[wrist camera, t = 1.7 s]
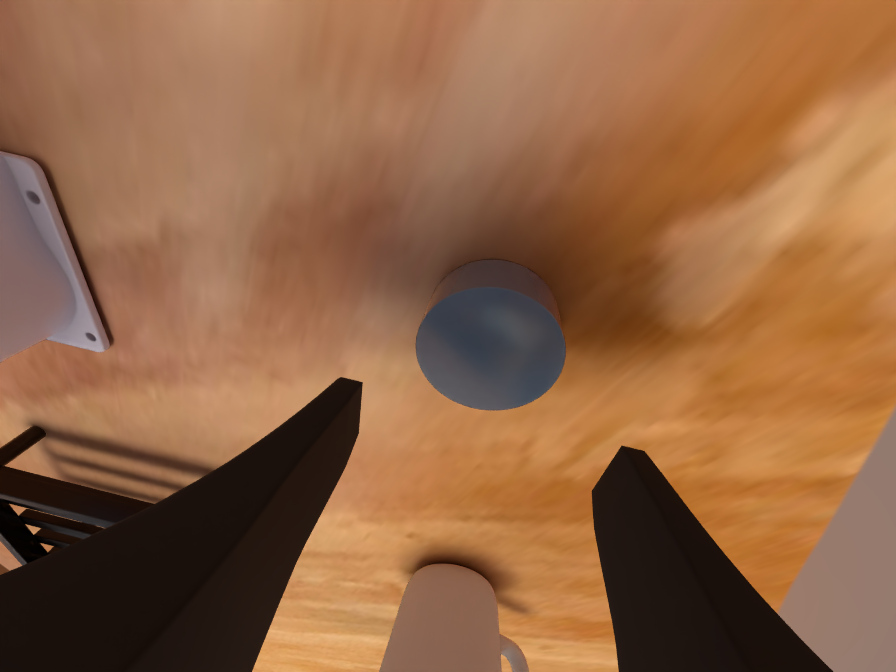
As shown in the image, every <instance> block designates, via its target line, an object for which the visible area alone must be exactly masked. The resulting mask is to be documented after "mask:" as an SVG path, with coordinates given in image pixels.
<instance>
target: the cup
mask: <svg viewBox="0 0 896 672" xmlns="http://www.w3.org/2000/svg"><path fill="white" fill-rule="evenodd" d="M501 654H502V655H504V656H505V657H506V658H507V659H508V661H509V662H510V665H511V667H512V671H513V672H529V668H528V665H527V661H526V659H525V656H524V654H523V652H522V650H521V649H520V648H519V646H518V645H517V644H516V643H514V642H513V641H512V640H510V639H508V638H507V637H505V636H503V635H501V634H499V621H498V608H497V601H496V596H495V593H494V591H493V588H492V586H491V585H490V583H489V582H488V581H487V580H486V579H485V578H484V577H483V576H481V575H480V574H478V573H477V572H475V571H473V570H471V569H468V568H466V567H462V566H459V565H454V564H432V565H428V566H425V567H423V568H421V569H419V570H418V571H417V572H415V573H414V574H413V576H412V577H411V579H410V580H409V582H408V584H407V586H406V589H405V592H404V595H403V597H402V601H401V604H400V607H399V610H398V613H397V617H396V620H395V623H394V626H393V629H392V632H391V636H390V639H389V642H388V645H387V648H386V652H385V655H384V658H383V661H382V664H381V668H380V671H379V672H502V671H501Z"/></svg>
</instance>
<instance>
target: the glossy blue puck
mask: <svg viewBox="0 0 896 672" xmlns="http://www.w3.org/2000/svg"><path fill="white" fill-rule="evenodd" d="M416 354H417V359H418V362H419V365H420V368H421V370H422V372H423V373H424V375H425V377H426V378H427V380H428V381H429V382H430V383H431V384H432V385H433V387H434V388H435V389H437V390H438V391H439V392H440V393H441V394H443V395H444V396H446V397H447V398H449V399H451V400H453V401H455V402H457V403H459V404H462V405H464V406H467V407H471V408H475V409H480V410H507V409H512V408H517V407H520V406H523V405H525V404H528V403H530V402H532V401H534V400H536V399H537V398H539V397H540V396H542V395H543V394H544V393H546V392H547V391H548V390H549V389H550V388H551V387H552V386H553V384H554V383H555V382H556V380H557V379H558V377H559V375H560V373H561V371H562V369H563V366H564V362H565V357H566V345H565V338H564V334H563V329H562V325H561V320H560V316H559V311H558V306H557V303H556V300H555V297H554V295H553V293H552V291H551V290H550V288H549V287H548V285H547V284H546V283H545V282H544V281H543V280H542V279H541V278H540V277H539V276H538V275H537V274H535V273H534V272H533V271H531V270H529V269H528V268H526V267H524V266H521V265H519V264H516V263H513V262H510V261H504V260H492V259H490V260H480V261H475V262H471V263H468V264H466V265H463V266H461V267H459V268H457V269H455V270H454V271H452V272H451V273H450V274H448V275H447V276H446V277H445V278H444V279H443V280H442V281H441V282H440V284H439V285H438V286H437V288H436V289H435V291H434V293H433V295H432V297H431V300H430V302H429V305H428V307H427V310H426V312H425V314H424V317H423V319H422V322H421V324H420V327H419V329H418V333H417V337H416Z"/></svg>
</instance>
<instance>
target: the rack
mask: <svg viewBox="0 0 896 672" xmlns="http://www.w3.org/2000/svg"><path fill="white" fill-rule="evenodd" d="M45 436H46V433H45V431H44V430H42V429H41V428H39V427H36V426H32V427H30V428H29V429H27V430H26V431H24V432H23V433H22V434H20V435H19V436H17V437H16V438H14V439H13V440H11V441H10V442H8V443H7V444H5V445H4V446H2V447H1V448H0V541H1V542H2V543H3V544H4V545H5V547H6V548H7V549H8V550H9V551H10V552H11V553H12V554H13V555H14V557H15V558H16V559H17V560H18V561H19V562H20V563H21V564H22V565H25V564H28V563H30V562H32V561H35V560H37V559H39V558H42V557H44V556H47V555H49V554H51V553H54V552H56V551H58V550H61V549H63V548H65V547H67V546H69V545H72V544H74V543H76V542H78V541H80V540H82V539H85V538H87V537H89V536H91V535H93V534H95V533H97V532H99V531H101V530H103V529H105V528H107V527H109V526H112V525H114V524H116V523H118V522H120V521H122V520H124V519H126V518H128V517H130V516H132V515H134V514H136V513H138V512H140V511H142V510H144V509H146V508H148V507H150V506H152V505H154V504H152V503H148V502H144V501H140V500H137V499H133V498H129V497H125V496H121V495H117V494H113V493H109V492H105V491H101V490H97V489H93V488H89V487H85V486H81V485H77V484H73V483H69V482H65V481H61V480H57V479H53V478H49V477H45V476H41V475H37V474H33V473H29V472H25V471H22V470H18V469H14V468H10V467H6V466H5V465H6V464H8V463H9V462H11V461H12V460H13V459H15V458H16V457H17V456H19V455H20V454H22V453H23V452H24V451H26V450H27V449H29V448H30V447H31V446H33V445H34V444H36V443H37V442H38V441H40V440H41V439H42V438H44V437H45ZM9 504H13V505H17V506H21V507H25V508H29V509H26V510H25V511H23V512H22V513H21V514H20V515H19V516H18V515H17V513H16V512H15V511H14V510H13V508H12V507H11V506H10V505H9ZM30 509H33V510H30ZM34 510H37V511H34ZM38 511H41V512H38ZM42 512H45V513H42ZM46 513H49V514H46ZM50 514H52V515H50ZM54 515H56V516H54ZM58 516H60V517H58ZM62 517H64V518H62ZM66 518H68V519H66ZM70 519H72V520H70ZM74 520H76V521H74ZM77 521H80V522H77ZM25 524H27V525H31V526H35V527H39V528H41V529H40V530H39V531H38V532H37V533H36V534H34V535H33V534H32V532H31V531H30V530H29V529H28V527H27V526H26V525H25ZM97 526H100V527H97ZM101 527H104V528H101ZM40 543H43V544H47V545H51V546H54V547H53V548H52V549H51V550H50V551H49V552H47V551H46V550H45V549H44V547H43V546H42V545H41V544H40Z"/></svg>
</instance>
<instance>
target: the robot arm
mask: <svg viewBox="0 0 896 672" xmlns="http://www.w3.org/2000/svg"><path fill="white" fill-rule="evenodd" d="M45 339H46V340H50V341H55V342H59V343H63V344H67V345H71V346H75V347H79V348H83V349H87V350H91V351H96V352H104V351H105V350H107V349H108V348H109V347H110V344H109V341H108V338H107V335H106V333H105V330H104V328H103V325H102V322H101V320H100V317H99V314H98V312H97V309H96V307H95V304H94V301H93V299H92V296H91V294H90V291H89V288H88V286H87V283H86V281H85V278H84V275H83V273H82V270H81V268H80V265H79V262H78V260H77V257H76V255H75V252H74V249H73V247H72V244H71V242H70V239H69V236H68V234H67V231H66V229H65V226H64V223H63V221H62V218H61V216H60V213H59V210H58V208H57V205H56V203H55V200H54V197H53V195H52V192H51V190H50V187H49V184H48V182H47V179H46V177H45V174H44V172H43V170H42V168H41V167H40V166H39V165H38V164H37V163H36V162H35V161H33V160H32V159H30V158H27V157H23V156H19V155H15V154H11V153H6V152H2V151H0V362H2V361H4V360H6V359H8V358H10V357H12V356H14V355H16V354H18V353H20V352H21V351H23V350H25V349H27V348H29V347H31V346H33V345H35V344H37V343H39V342H41V341H43V340H45ZM362 384H363V382H359V381H355V380H351V379H347V378H343V377H340V378H339V379H337V380H336V381H335V382H333V383H332V384H331V385H330V386H329V387H328V388H327V389H325V390H324V391H323V392H322V393H321V394H319V395H318V396H317V397H316V398H315V399H313V400H312V401H311V402H310V403H309V404H307V405H306V406H305V407H304V408H302V409H301V410H300V411H299V412H297V413H296V414H295V415H293V416H292V417H291V418H290V419H288V420H287V421H286V422H284V423H283V424H282V425H280V426H279V427H278V428H276V429H275V430H274V431H272V432H271V433H270V434H268V435H267V436H265V437H264V438H262V439H261V440H260V441H258V442H257V443H255V444H254V445H252V446H251V447H250V448H248V449H247V450H245V451H244V452H242V453H241V454H239V455H238V456H236V457H235V458H233V459H232V460H230V461H229V462H227V463H225V464H224V465H222V466H221V467H219V468H217V469H216V470H214V471H212V472H211V473H209V474H207V475H206V476H204V477H202V478H201V479H199V480H197V481H196V482H194V483H192V484H190V485H188V486H187V487H185V488H183V489H181V490H179V491H178V492H176V493H174V494H172V495H170V496H169V497H167V498H165V499H163V500H161V501H160V502H158V503H156V504H154V505H152V506H150V507H148V508H146V509H144V510H142V511H140V512H138V513H136V514H134V515H132V516H130V517H128V518H126V519H124V520H122V521H120V522H118V523H116V524H114V525H112V526H109V527H107V528H105V529H103V530H101V531H99V532H97V533H95V534H93V535H91V536H89V537H87V538H85V539H82V540H80V541H78V542H76V543H74V544H72V545H69V546H67V547H65V548H63V549H61V550H58V551H56V552H54V553H51V554H49V555H47V556H44V557H42V558H39V559H37V560H35V561H32V562H30V563H28V564H25V565H23V566H21V567H18V568H16V569H14V570H11V571H9V572H7V573H4V574H2V575H0V672H252V670H253V667H254V665H255V662H256V660H257V657H258V655H259V652H260V650H261V647H262V645H263V642H264V640H265V637H266V635H267V632H268V630H269V627H270V625H271V623H272V620H273V618H274V615H275V613H276V610H277V608H278V605H279V603H280V600H281V598H282V596H283V593H284V591H285V589H286V586H287V584H288V581H289V579H290V577H291V574H292V572H293V570H294V567H295V565H296V562H297V560H298V558H299V556H300V554H301V552H302V550H303V548H304V546H305V544H306V542H307V540H308V538H309V536H310V534H311V532H312V530H313V528H314V526H315V525H316V523H317V521H318V519H319V517H320V515H321V513H322V511H323V509H324V507H325V506H326V504H327V502H328V500H329V498H330V496H331V494H332V492H333V490H334V488H335V486H336V485H337V483H338V481H339V479H340V477H341V475H342V473H343V471H344V469H345V467H346V465H347V462H348V460H349V457H350V455H351V452H352V449H353V447H354V444H355V442H356V439H357V436H358V434H359V423H360V410H361V397H362ZM592 504H593V519H594V530H595V536H596V541H597V546H598V552H599V557H600V562H601V567H602V572H603V577H604V582H605V587H606V592H607V597H608V602H609V608H610V613H611V618H612V623H613V629H614V635H615V641H616V649H617V658H618V668H619V672H833V671H832V670H831V669H830V668H829V667H828V666H827V665H826V664H825V663H824V662H823V661H822V660H821V659H820V658H819V657H818V656H817V655H816V654H815V653H814V652H813V651H812V650H811V649H810V648H809V647H808V646H807V645H806V644H805V643H804V642H803V641H802V640H801V639H800V638H799V637H798V636H797V634H796V633H795V632H794V631H793V630H792V629H791V628H790V627H789V626H788V625H787V624H786V623H785V622H784V621H783V620H782V618H780V616H779V615H778V614H777V613H776V612H775V611H774V610H773V609H772V608H771V607H770V606H769V604H768V603H767V602H766V601H765V600H764V599H763V598H762V597H761V596H760V594H759V593H758V592H757V591H756V590H755V589H754V588H753V587H752V585H751V584H750V583H749V582H748V581H747V580H746V578H745V577H744V576H743V575H742V574H741V573H740V571H739V570H738V569H737V568H736V567H735V566H734V564H733V563H732V562H731V561H730V560H729V558H728V557H727V556H726V555H725V554H724V552H723V551H722V550H721V549H720V548H719V546H718V545H717V544H716V543H715V541H714V540H713V539H712V538H711V536H710V535H709V534H708V533H707V531H706V530H705V529H704V528H703V526H702V525H701V524H700V523H699V521H698V520H697V519H696V517H695V516H694V515H693V514H692V512H691V511H690V510H689V508H688V507H687V506H686V504H685V503H684V502H683V501H682V499H681V498H680V497H679V495H678V494H677V493H676V491H675V490H674V489H673V487H672V486H671V485H670V483H669V482H668V481H667V479H666V478H665V477H664V475H663V474H662V473H661V472H660V470H659V469H658V468H657V466H656V465H655V464H654V462H653V461H652V460H651V459H650V457H649V456H648V455H647V454H646V453H645V451H642V450H638V449H634V448H630V447H625V446H621V448H620V449H619V451H618V452H617V454H616V455H615V457H614V458H613V460H612V461H611V463H610V464H609V466H608V467H607V469H606V470H605V472H604V473H603V475H602V476H601V478H600V479H599V481H598V482H597V484H596V485H595V487H594V488H593V490H592Z"/></svg>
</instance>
